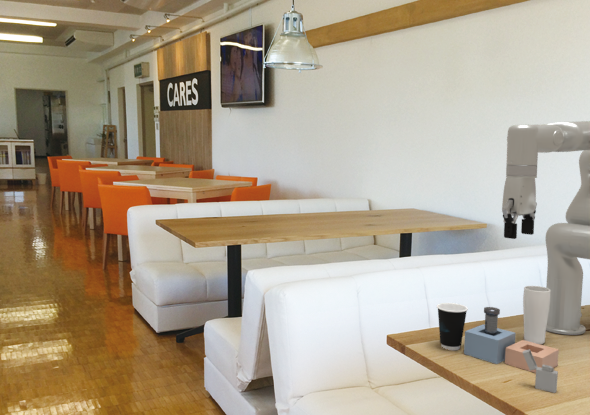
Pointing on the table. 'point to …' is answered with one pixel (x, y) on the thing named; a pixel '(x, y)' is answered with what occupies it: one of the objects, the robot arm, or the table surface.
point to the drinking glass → (536, 313)
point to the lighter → (542, 374)
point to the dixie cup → (451, 324)
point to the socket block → (488, 344)
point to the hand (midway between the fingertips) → (518, 236)
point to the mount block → (539, 352)
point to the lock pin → (491, 320)
